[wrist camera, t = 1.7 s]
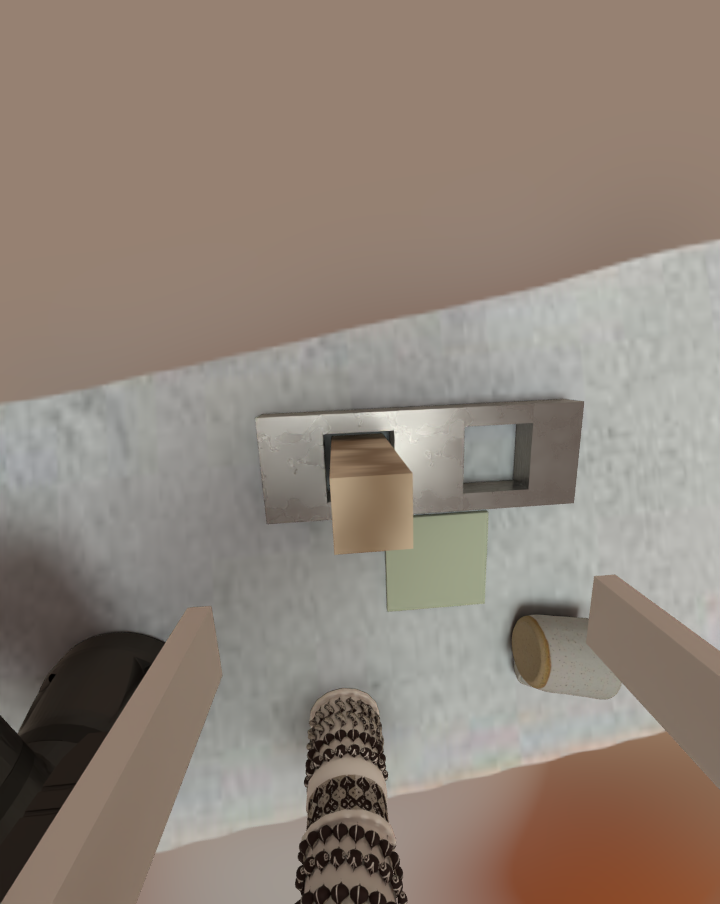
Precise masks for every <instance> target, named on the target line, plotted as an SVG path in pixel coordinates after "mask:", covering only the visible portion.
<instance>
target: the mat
mask: <svg viewBox="0 0 720 904" xmlns="http://www.w3.org/2000/svg"><path fill="white" fill-rule="evenodd" d="M487 534H488V512H487V511H474V512H459V513H445V514H430V515H416V516H413V549H404V550H390V551H385V554H386V588H387V611H388V612H390V611H402V610H414V609H426V608H437V607H449V606H461V605H473V604H484V603H485V580H486V557H487Z"/></svg>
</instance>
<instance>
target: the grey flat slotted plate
mask: <svg viewBox="0 0 720 904" xmlns="http://www.w3.org/2000/svg"><path fill="white" fill-rule="evenodd" d="M583 409H584V401H577V400H568V399H553V400H533V401H513V402H494V403H474V404H454V405H434V406H414V407H394V408H374V409H354V410H335V411H315V412H295V413H275V414H261V415H260V416H258V417H256V418H255V422H256V431H257V440H258V449H259V458H260V467H261V476H262V485H263V494H264V503H265V512H266V521H267V524H277V523H291V522H306V521H321V520H332V508H331V493H330V492H328V489H327V474H326V459H325V444H324V434H337V433H356V432H374V431H389V432H390V444H391V446H392V447H393V448H394V450H395V451H396V452H397V453H398V455H399V456H400V457H401V459H402V460H403V461H404V463H405V464H406V465H407V466H408V468H409V469H410V470H411V472H412V473H413V514H422V513H437V512H451V511H466V510H480V509H495V508H510V507H524V506H539V505H553V504H568V503H574V497H575V487H576V477H577V467H578V458H579V448H580V438H581V428H582V419H583ZM503 424H516V440H515V457H514V474H513V480H506V481H490V482H475V483H463V471H464V432H465V427H466V426H485V425H503Z"/></svg>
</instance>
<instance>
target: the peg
mask: <svg viewBox="0 0 720 904" xmlns="http://www.w3.org/2000/svg"><path fill="white" fill-rule="evenodd" d="M330 493H331V508H332V523H333V539H334V554H335V555H337V554H350V553H364V552H377V551H390V550H404V549H413V473H412V472H411V470H410V469H409V468H408V466H407V465H406V464H405V463H404V461H403V460H402V459H401V457H400V456H399V455H398V453H397V452H396V451H395V450H394V448H393V447H392V446H391V444H390V443H389V442H388V440H387V439H386V438H385V437H384V435H383V434H382V433H379V434H360V435H342V436H332V439H331V459H330Z"/></svg>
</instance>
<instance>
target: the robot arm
mask: <svg viewBox="0 0 720 904" xmlns="http://www.w3.org/2000/svg"><path fill="white" fill-rule="evenodd" d="M586 644H587V645H588V646H589V647H590V648H591V649H592V650H593V651H594V653H595V654H596V655H597V656H598V657H599V658H600V659H601V660H602V661H603V662H604V664H605V665H606V666H607V667H608V668H609V669H610V670H611V671H612V672H613V673H614V674H615V676H616V677H617V678H618V679H619V680H620V681H621V682H622V683H623V684H624V685H625V686H626V688H627V689H628V690H629V691H630V692H631V693H632V694H633V695H634V696H635V697H636V699H637V700H638V701H639V702H640V703H641V704H642V705H643V706H644V707H645V708H646V709H647V711H648V712H649V713H650V714H651V715H652V716H653V717H654V718H655V719H656V720H657V721H658V723H659V724H660V725H661V726H662V727H663V728H664V729H665V730H666V731H667V732H668V733H669V735H670V736H671V737H672V738H673V739H674V740H675V741H676V742H677V743H678V744H679V746H680V747H681V748H682V749H683V750H684V751H685V752H686V753H687V754H688V755H689V756H690V758H691V759H692V760H693V761H694V762H695V763H696V764H697V765H698V766H699V767H700V769H701V770H702V771H703V772H704V773H705V774H706V775H707V776H708V777H709V778H710V779H711V781H712V782H713V783H714V784H715V785H716V786H717V787H718V788H719V789H720V651H719V650H717V649H716V648H715V647H713V646H712V645H711V644H709V643H708V642H707V641H705V640H704V639H702V638H701V637H700V636H698V635H697V634H696V633H694V632H693V631H691V630H690V629H689V628H687V627H686V626H685V625H683V624H682V623H681V622H679V621H678V620H676V619H675V618H674V617H672V616H671V615H670V614H668V613H667V612H666V611H664V610H663V609H661V608H660V607H659V606H657V605H656V604H655V603H653V602H652V601H651V600H649V599H648V598H646V597H645V596H644V595H642V594H641V593H640V592H638V591H637V590H635V589H634V588H633V587H631V586H630V585H629V584H627V583H626V582H625V581H623V580H622V579H620V578H619V577H618V576H616V575H605V576H594V582H593V590H592V598H591V606H590V614H589V622H588V630H587V638H586ZM221 678H222V669H221V662H220V656H219V650H218V644H217V638H216V631H215V625H214V619H213V613H212V607H211V606H205V607H192V608H187V610H186V611H185V613H184V614H183V616H182V618H181V619H180V621H179V622H178V624H177V625H176V627H175V629H174V630H173V632H172V633H171V635H170V636H169V638H168V640H167V641H166V643H165V644H164V643H162V642H160V641H158V640H156V639H153V638H151V637H148V636H144V635H140V634H135V633H122V632H118V633H107V634H102V635H98V636H95V637H92V638H89V639H87V640H85V641H83V642H81V643H79V644H78V645H76V646H75V647H74V648H72V649H71V650H70V651H69V652H68V653H67V654H66V655H65V656H64V657H63V658H62V659H61V660H60V661H59V662H58V663H57V664H56V666H55V667H54V668H53V669H52V670H51V671H50V673H49V674H48V675H47V677H46V678H45V680H44V682H43V684H42V686H41V688H40V691H39V693H38V695H37V696H36V698H35V700H34V702H33V704H32V706H31V708H30V710H29V712H28V714H27V716H26V718H25V720H24V722H23V724H22V726H21V728H20V730H19V732H18V734H17V733H16V732H15V731H14V730H13V729H12V728H11V727H10V725H9V724H8V723H7V722H6V721H5V720H4V719H3V718H2V717H1V715H0V904H136V903H137V900H138V897H139V895H140V892H141V889H142V887H143V884H144V881H145V879H146V876H147V873H148V871H149V868H150V866H151V863H152V860H153V858H154V855H155V852H156V850H157V847H158V844H159V842H160V839H161V837H162V834H163V831H164V829H165V826H166V823H167V821H168V818H169V815H170V813H171V810H172V807H173V805H174V802H175V799H176V797H177V794H178V792H179V789H180V786H181V784H182V781H183V778H184V776H185V773H186V770H187V768H188V765H189V762H190V760H191V757H192V754H193V752H194V749H195V747H196V744H197V741H198V739H199V736H200V733H201V731H202V728H203V725H204V723H205V720H206V717H207V715H208V712H209V709H210V707H211V704H212V702H213V699H214V696H215V694H216V691H217V688H218V686H219V683H220V680H221Z"/></svg>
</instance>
